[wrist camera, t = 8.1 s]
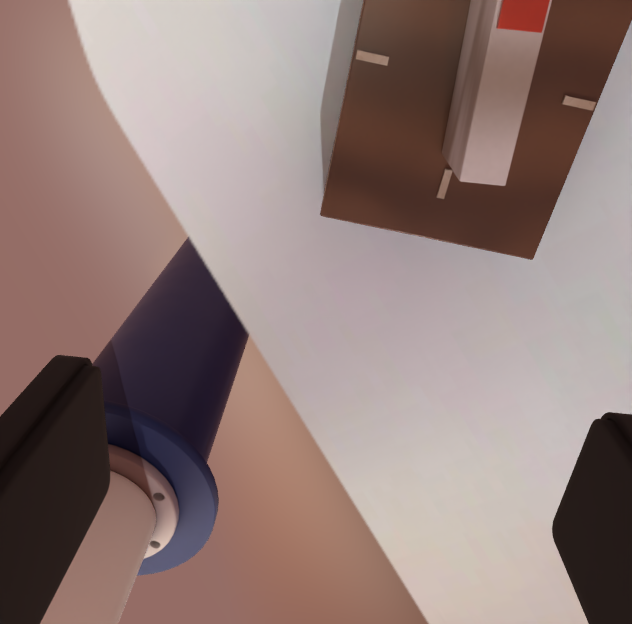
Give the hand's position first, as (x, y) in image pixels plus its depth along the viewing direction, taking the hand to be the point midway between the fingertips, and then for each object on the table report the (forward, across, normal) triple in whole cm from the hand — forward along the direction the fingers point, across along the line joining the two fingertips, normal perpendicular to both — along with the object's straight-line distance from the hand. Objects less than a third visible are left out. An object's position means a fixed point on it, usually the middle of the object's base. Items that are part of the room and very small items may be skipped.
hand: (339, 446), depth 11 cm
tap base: (+22, -5, -6) cm, 23 cm away
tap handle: (+18, -5, -6) cm, 20 cm away
